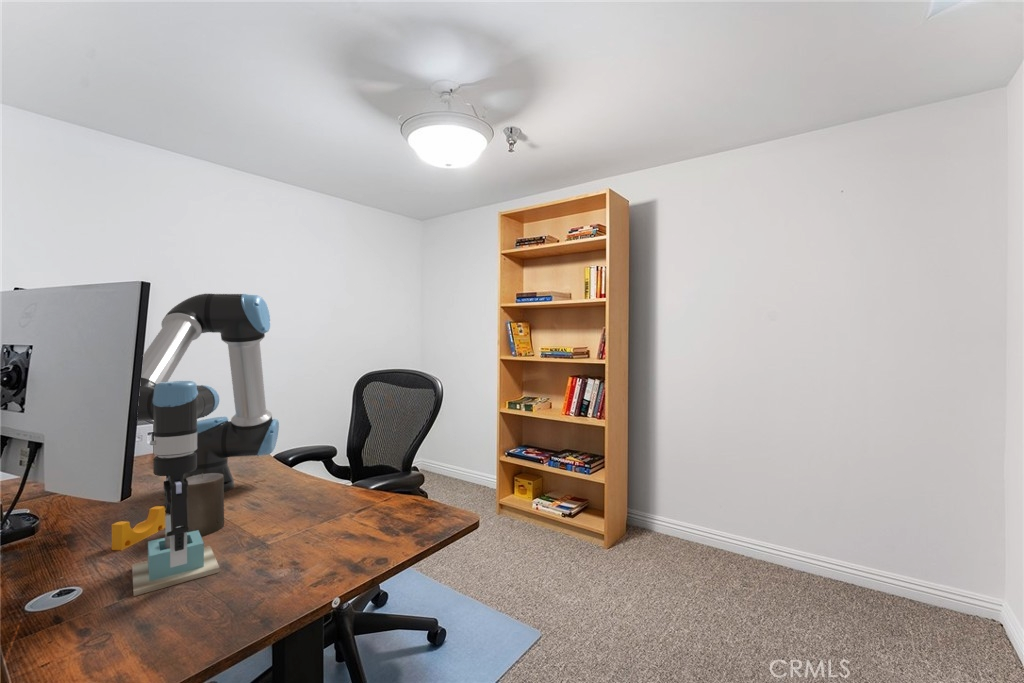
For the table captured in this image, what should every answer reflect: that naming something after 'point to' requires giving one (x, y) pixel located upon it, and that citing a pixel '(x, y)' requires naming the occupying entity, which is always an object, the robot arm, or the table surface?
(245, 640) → the table surface
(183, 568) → the collar
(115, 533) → the pipe clamp
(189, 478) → the pillar candle
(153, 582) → the post block
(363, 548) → the table surface
